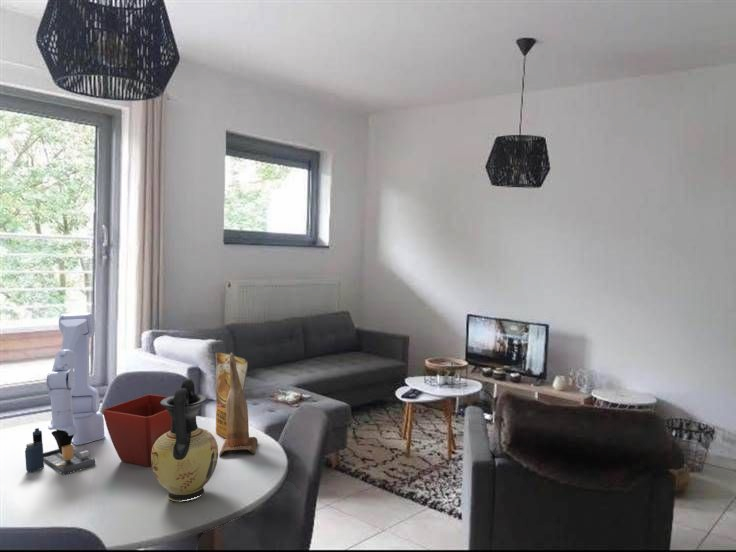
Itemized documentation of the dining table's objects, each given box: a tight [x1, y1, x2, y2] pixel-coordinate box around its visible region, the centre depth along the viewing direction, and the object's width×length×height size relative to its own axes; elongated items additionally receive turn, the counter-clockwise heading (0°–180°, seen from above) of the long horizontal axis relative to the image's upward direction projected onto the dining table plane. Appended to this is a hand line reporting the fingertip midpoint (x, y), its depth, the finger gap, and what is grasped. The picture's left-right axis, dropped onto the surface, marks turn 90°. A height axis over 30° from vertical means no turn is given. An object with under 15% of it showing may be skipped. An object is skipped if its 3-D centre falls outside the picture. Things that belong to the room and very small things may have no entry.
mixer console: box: [43, 448, 96, 475], centre depth 175 cm, size 9×18×4 cm, turn 48°
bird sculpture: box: [218, 352, 259, 458], centre depth 181 cm, size 11×12×32 cm
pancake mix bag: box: [214, 352, 249, 440], centre depth 195 cm, size 7×19×28 cm, turn 41°
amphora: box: [151, 378, 219, 502], centre depth 149 cm, size 18×17×30 cm
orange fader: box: [62, 443, 74, 463], centre depth 172 cm, size 3×2×5 cm
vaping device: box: [24, 428, 45, 473], centre depth 170 cm, size 3×5×12 cm, turn 161°
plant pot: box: [102, 394, 172, 468], centre depth 177 cm, size 19×19×17 cm
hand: (64, 453), depth 173 cm, fingers closed
